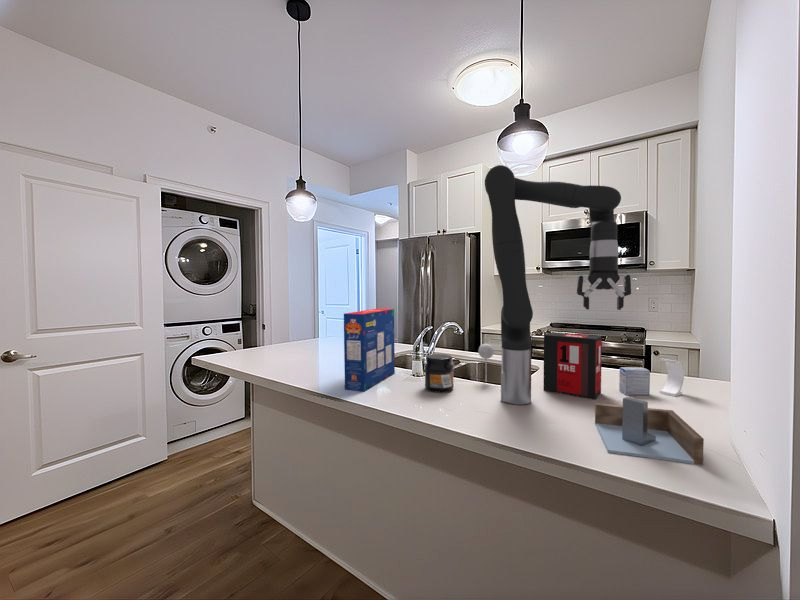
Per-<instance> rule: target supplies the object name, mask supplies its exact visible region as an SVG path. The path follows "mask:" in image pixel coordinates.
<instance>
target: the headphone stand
mask: <svg viewBox="0 0 800 600" xmlns="http://www.w3.org/2000/svg"><path fill="white" fill-rule="evenodd" d="M660 362H664V364H665V366H666V370H667V376H666V382H665V384H664V386H663V387H662V389H660V390H659V394H662V395H667V396H671V397H677V396H680V395H682V394H683V391H682V388H683V385H684V380H685V371H684V367H683V365H682V363H681V361H679V360H674V359H667V358H660Z"/></svg>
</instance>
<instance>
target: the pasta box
mask: <svg viewBox="0 0 800 600" xmlns="http://www.w3.org/2000/svg"><path fill="white" fill-rule="evenodd" d="M343 354H344V355H343V356H344V357H343V359H344V360H343V361H344V362H343V363H344V390H345V391H352V392H363V393H365V392H367V391H369V390H371V389H372V388H373V387H375V386H378V384H381V383H382V382H383V381H386V380H387V379H389V378H390V377H392V376H395V373H396V371H395V367H396V365H395V363H396V362H395V359H396V358H395V309H394V308H374V309H373V308H372V309H366V310H359V311H353V312H346V313H343Z"/></svg>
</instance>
